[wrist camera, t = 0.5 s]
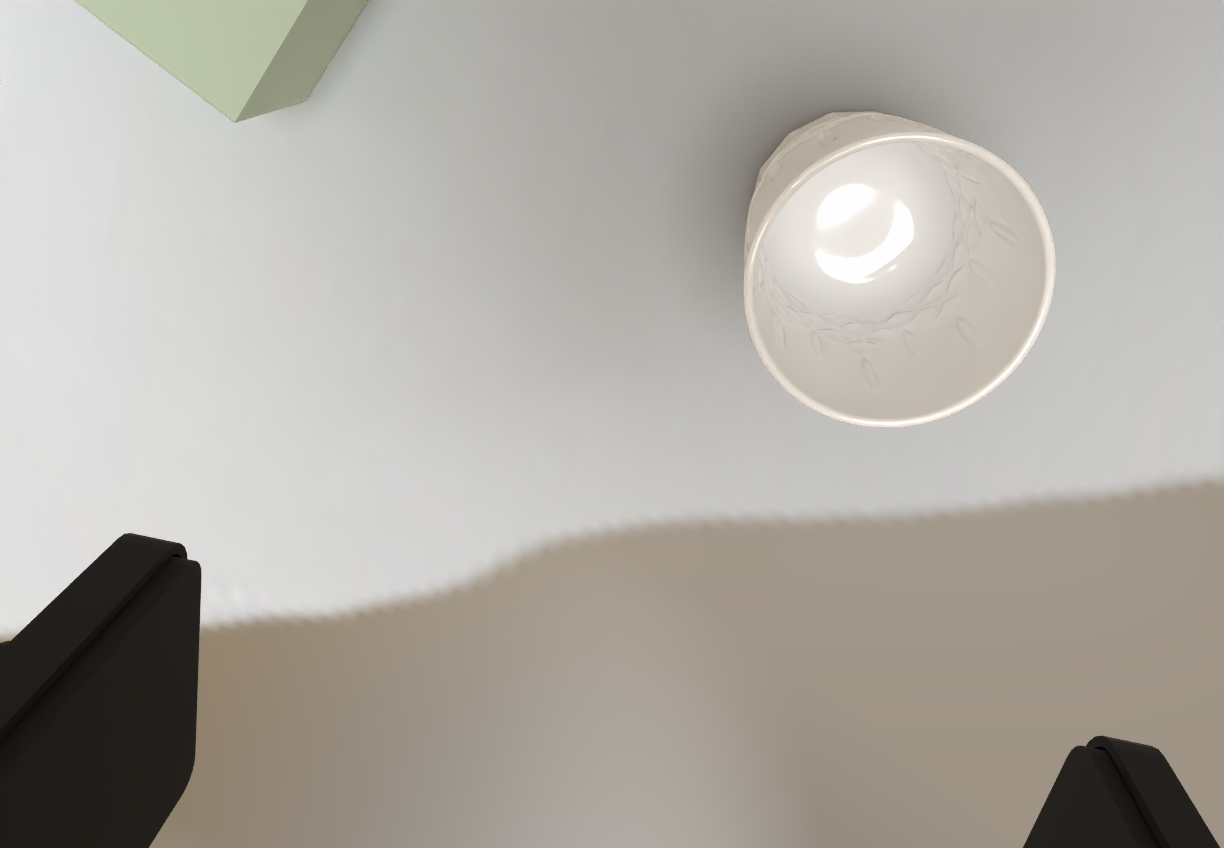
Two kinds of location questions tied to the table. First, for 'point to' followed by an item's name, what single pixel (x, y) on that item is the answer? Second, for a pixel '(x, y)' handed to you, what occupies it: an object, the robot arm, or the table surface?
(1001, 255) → the white cup
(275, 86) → the sage cube
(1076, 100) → the table surface
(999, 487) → the table surface
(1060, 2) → the table surface
